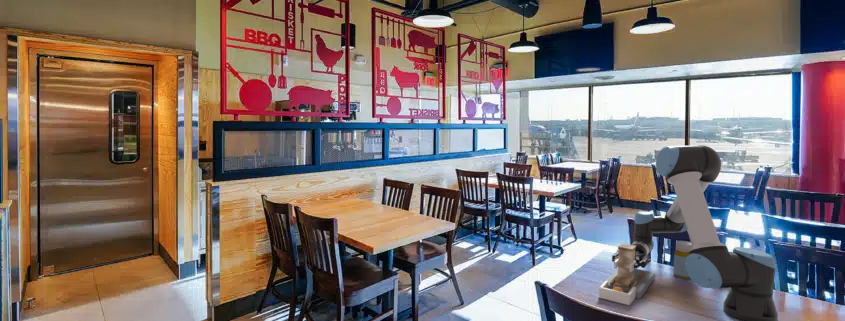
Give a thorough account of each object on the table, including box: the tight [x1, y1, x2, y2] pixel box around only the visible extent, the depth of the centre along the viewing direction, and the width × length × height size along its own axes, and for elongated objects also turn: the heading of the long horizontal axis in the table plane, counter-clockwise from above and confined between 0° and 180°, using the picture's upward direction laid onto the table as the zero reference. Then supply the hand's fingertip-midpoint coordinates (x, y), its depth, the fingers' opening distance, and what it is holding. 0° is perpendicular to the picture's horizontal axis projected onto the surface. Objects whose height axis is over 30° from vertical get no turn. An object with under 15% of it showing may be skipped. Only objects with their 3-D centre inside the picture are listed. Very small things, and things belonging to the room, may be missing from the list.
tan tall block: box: [615, 243, 636, 288], centre depth 169 cm, size 5×8×15 cm, turn 140°
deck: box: [601, 267, 656, 300], centre depth 175 cm, size 14×26×2 cm, turn 140°
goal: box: [598, 280, 637, 307], centre depth 162 cm, size 11×9×4 cm
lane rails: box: [610, 272, 645, 290], centre depth 173 cm, size 8×21×1 cm, turn 140°
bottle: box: [672, 240, 692, 280], centre depth 182 cm, size 7×7×15 cm
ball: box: [612, 287, 623, 292], centre depth 162 cm, size 4×4×4 cm
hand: (622, 266), depth 166 cm, fingers closed on tan tall block, 5 cm apart
